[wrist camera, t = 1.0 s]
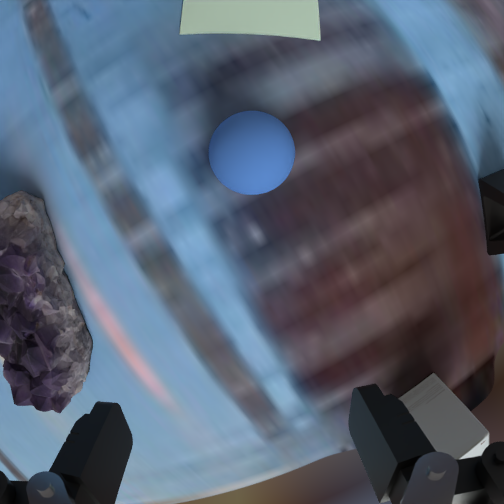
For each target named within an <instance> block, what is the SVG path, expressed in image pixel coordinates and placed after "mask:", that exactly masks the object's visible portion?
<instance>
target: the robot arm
mask: <svg viewBox="0 0 504 504" xmlns="http://www.w3.org/2000/svg"><path fill="white" fill-rule="evenodd" d="M349 430H350V434H351V437H352V439H353V441H354V444H355V446H356V448H357V451H358V453H359V455H360V458H361V460H362V462H363V465H364V467H365V470H366V472H367V474H368V477H369V479H370V481H371V484H372V486H373V489H374V491H375V493H376V496H377V498H378V501H379V503H383V502H386V501H389V500H391V502H392V504H504V442H495V443H492V444H490V445H488V446H487V447H486V448H485V450H484V451H483V453H482V455H481V456H476V457H471V458H465V459H454V457H452V456H451V455H449V454H447V453H443V452H437V451H436V450H435V449H434V447H433V446H432V444H431V443H430V441H429V440H428V438H427V437H426V435H425V434H424V432H423V431H422V429H421V428H420V426H419V425H418V424H417V422H416V421H415V419H414V418H413V416H412V415H411V413H409V410H408V409H407V408H406V406H405V405H404V403H403V402H402V401H401V400H399V399H398V398H396V397H395V396H393V395H392V394H390V395H386V396H384V395H383V393H382V392H381V390H380V389H379V387H378V386H377V385H376V384H371V385H366V386H361V387H357V388H354V389H353V392H352V400H351V407H350V414H349ZM132 445H133V439H132V434H131V431H130V429H129V426H128V424H127V422H126V419H125V417H124V414H123V412H122V409H121V407H120V405H119V404H118V403H112V402H100V401H98V402H96V403H95V405H94V407H93V409H92V411H91V412H90V414H84V415H83V416H82V417H81V418H80V419H79V420H77V421H76V422H75V424H74V426H73V428H72V430H71V431H70V434H69V435H68V437H67V439H66V442H64V444H63V446H62V448H61V450H60V451H59V453H58V455H57V457H56V459H55V461H54V463H53V465H52V467H51V468H50V470H49V472H47V471H45V472H40V473H37V474H35V475H34V476H32V477H31V478H30V479H29V481H10V480H9V479H8V478H7V477H6V475H5V474H4V473H3V472H2V471H0V504H115V501H116V497H117V494H118V491H119V487H120V484H121V481H122V478H123V474H124V471H125V468H126V465H127V462H128V459H129V456H130V453H131V449H132Z"/></svg>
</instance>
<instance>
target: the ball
mask: <svg viewBox="0 0 504 504" xmlns="http://www.w3.org/2000/svg"><path fill="white" fill-rule="evenodd" d="M294 159H295V147H294V142H293V139H292V136H291V134H290V132H289V131H288V129H287V128H286V126H285V125H284V124H283V123H282V122H281V121H280V120H278V119H277V118H275V117H274V116H272V115H270V114H267V113H265V112H261V111H243V112H239V113H236V114H234V115H232V116H230V117H228V118H227V119H225V120H224V121H223V122H222V123H221V124H220V125H219V126H218V127H217V129H216V130H215V132H214V133H213V135H212V138H211V140H210V145H209V161H210V165H211V168H212V170H213V172H214V174H215V175H216V177H217V178H218V179H219V181H220V182H221V183H222V184H224V185H225V186H226V187H228V188H229V189H231V190H233V191H235V192H238V193H241V194H247V195H256V194H262V193H266V192H268V191H271V190H273V189H274V188H276V187H278V186H279V185H280V184H281V183H282V182H283V181H284V180H285V179H286V178H287V176H288V175H289V173H290V171H291V169H292V166H293V163H294Z"/></svg>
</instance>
